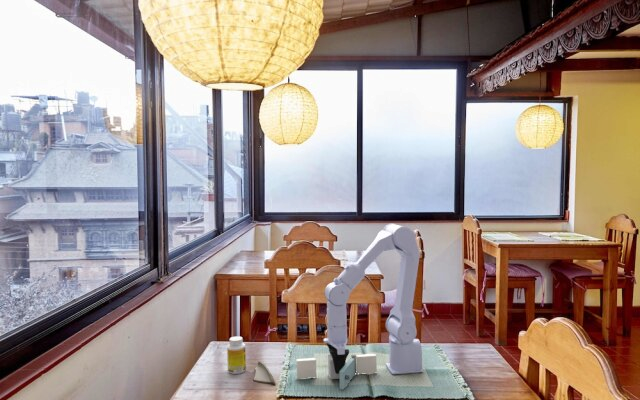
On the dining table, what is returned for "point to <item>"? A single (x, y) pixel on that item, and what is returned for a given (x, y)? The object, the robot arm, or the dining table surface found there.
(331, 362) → the pale grey block
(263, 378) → the ceramic fragment
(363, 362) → the frame
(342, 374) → the door
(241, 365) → the supplement bottle
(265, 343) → the dining table surface
